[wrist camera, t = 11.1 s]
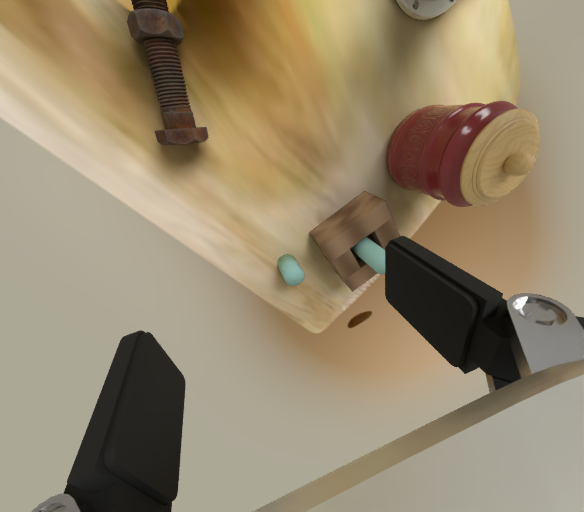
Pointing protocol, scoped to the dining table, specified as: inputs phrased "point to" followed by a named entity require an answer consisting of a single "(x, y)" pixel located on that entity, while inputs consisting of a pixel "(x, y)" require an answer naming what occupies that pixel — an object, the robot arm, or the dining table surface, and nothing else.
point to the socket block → (355, 236)
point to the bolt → (165, 69)
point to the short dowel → (290, 270)
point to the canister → (464, 151)
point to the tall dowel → (371, 254)
